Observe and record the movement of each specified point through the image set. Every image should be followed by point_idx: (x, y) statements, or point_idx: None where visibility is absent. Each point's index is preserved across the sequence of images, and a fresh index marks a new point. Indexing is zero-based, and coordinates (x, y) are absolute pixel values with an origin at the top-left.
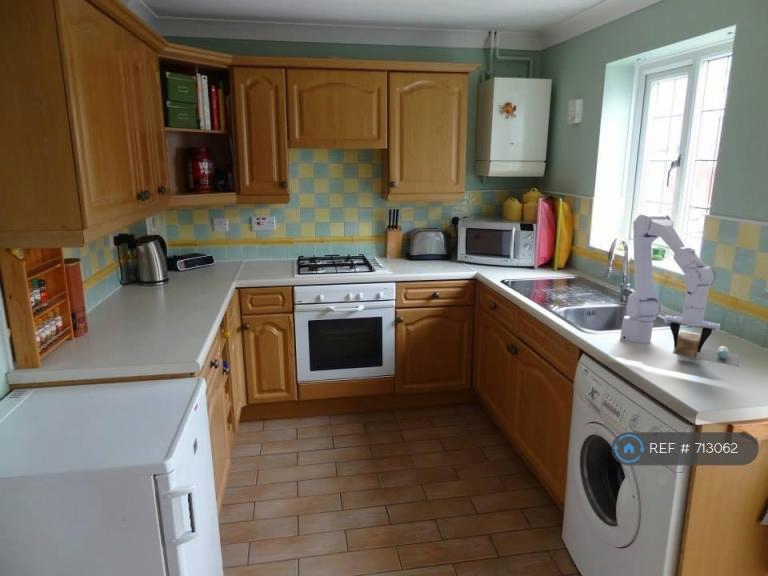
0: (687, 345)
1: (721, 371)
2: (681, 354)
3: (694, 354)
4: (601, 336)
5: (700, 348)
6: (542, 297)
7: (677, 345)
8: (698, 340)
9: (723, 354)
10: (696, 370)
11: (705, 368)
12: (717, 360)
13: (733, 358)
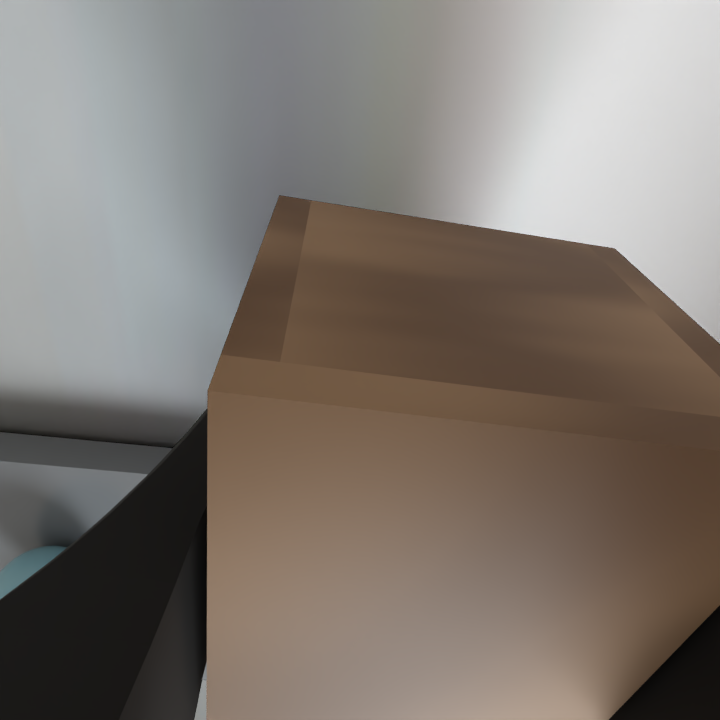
0: (489, 323)
1: (31, 328)
2: (515, 234)
3: (307, 218)
4: None
5: (203, 424)
6: None
7: (679, 325)
8: (224, 515)
9: (21, 579)
10: (267, 227)
11: (183, 338)
12: (89, 505)
13: None
